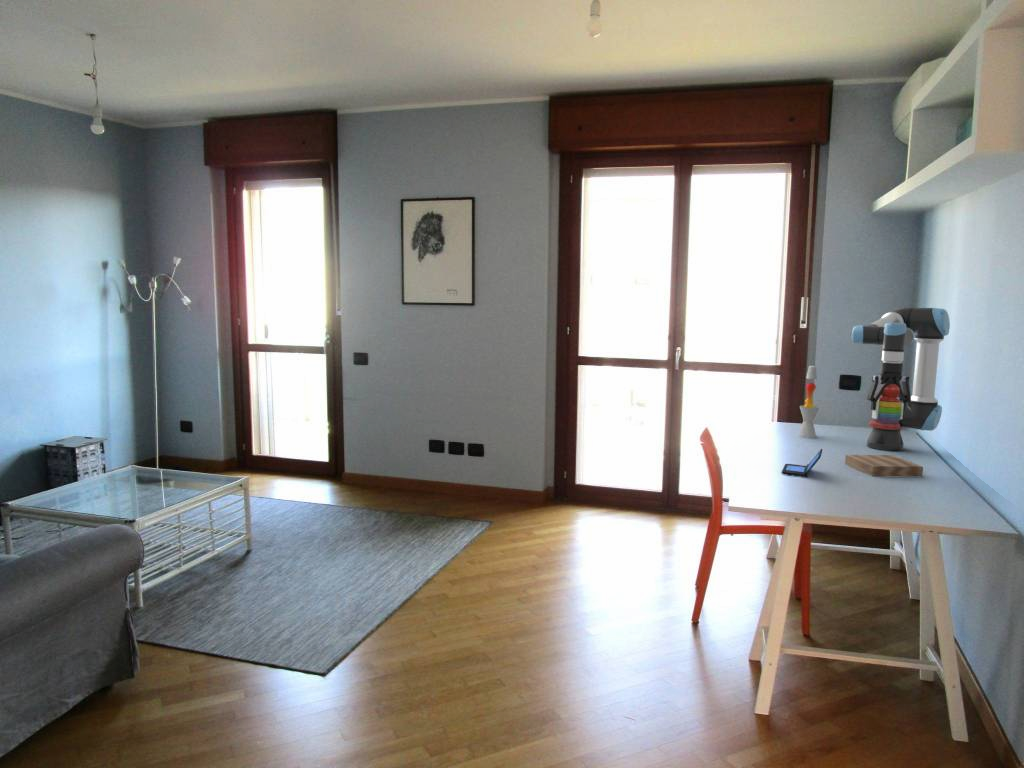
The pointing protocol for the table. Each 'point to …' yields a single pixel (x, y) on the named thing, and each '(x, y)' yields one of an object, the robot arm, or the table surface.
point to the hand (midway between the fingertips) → (886, 418)
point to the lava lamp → (809, 407)
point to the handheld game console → (801, 467)
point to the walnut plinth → (883, 465)
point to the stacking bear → (888, 409)
